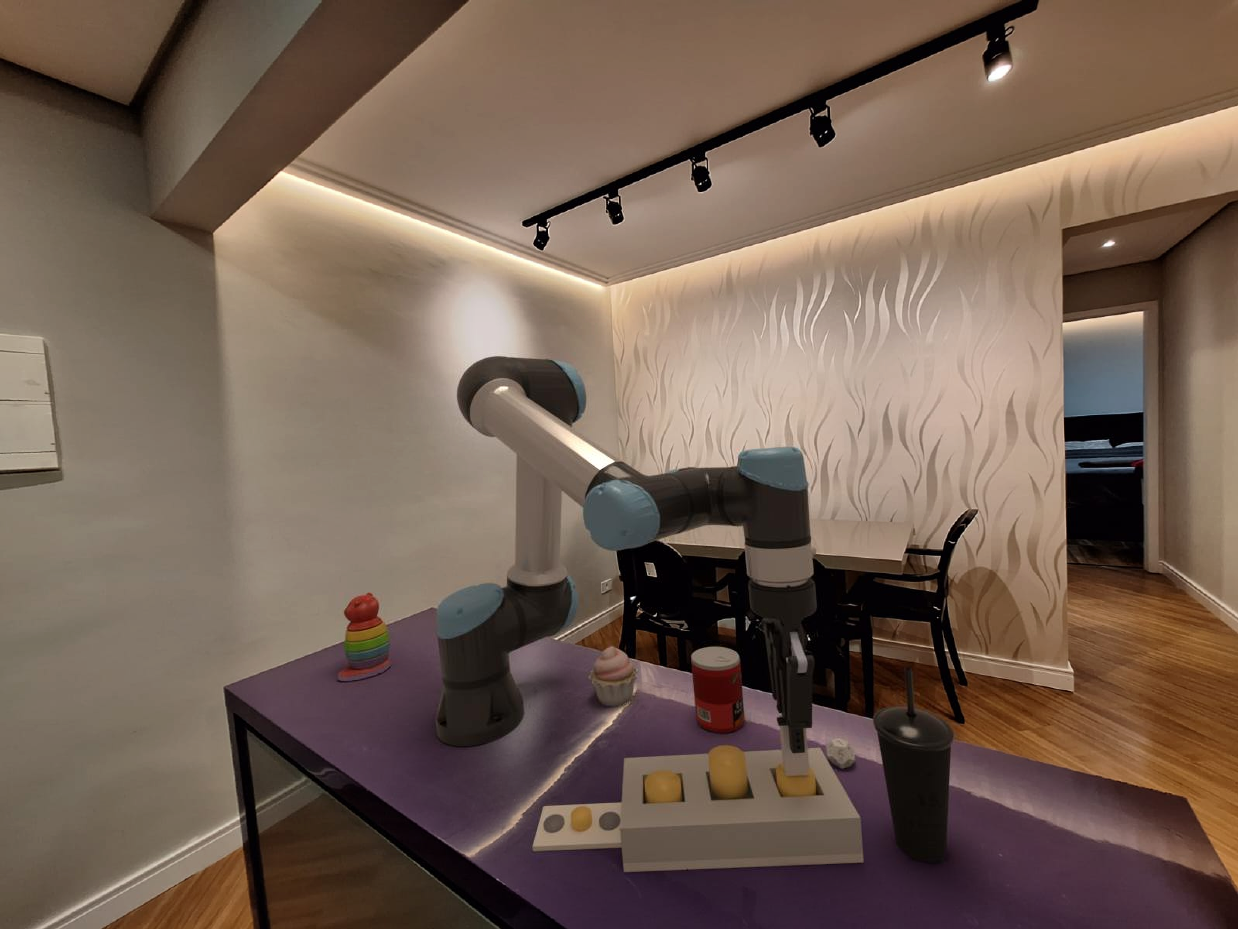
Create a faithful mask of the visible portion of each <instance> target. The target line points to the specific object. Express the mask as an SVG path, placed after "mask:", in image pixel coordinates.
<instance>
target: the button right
mask: <svg viewBox="0 0 1238 929" xmlns="http://www.w3.org/2000/svg"><path fill="white" fill-rule="evenodd" d="M809 772H810V775H801V776H786V774H785V771H784V769H783V763H781V764H779V765H778V766H777V768H776V776H777V789H778V792H779V794H780V797H798V796H816V784H815V774H814V772H813V770H812V769H811V768H810V767H809Z"/></svg>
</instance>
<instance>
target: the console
mask: <svg viewBox="0 0 1238 929" xmlns="http://www.w3.org/2000/svg"><path fill="white" fill-rule="evenodd" d="M742 752H743V753H744V754H745V759H746V771H747V784H748V793H747V795H746V797H745V798H743V799H736V800H720V799H718V798H717V797H716V796H715V795H714V794H713V793H712V791H711V783H710V771H709V759H708V754H709V753H695V754H678V755H676V754H675V755H674V754H673V755H661V756H660V755H658V756H657V755H656V756H640V757H639V756H637V757H624V758H623V777H622V788H621V789H622V791H621V802H622V804H621V820H620V834H621V845H622V847H621V855H622V864H623V865H622V866H623V867H622V868H623V873H633V872H658V871H660V872H661V871H682V870H683V871H685V870H687V869H688V870H705V869H706V870H709V869H733V868H734V869H735V868H754V867H755V868H757V867H762V868H763V867H783V866H784V867H787V866H805V865H808V866H809V865H827V864H828V865H830V864H831V865H832V864H854V863H855V864H858V863H861V864H862V863H864V862H865V861H864V849H863V837H862V836H863V835H862V819H861V816H860V814H859V813H858V811H857V810H856V807H855V806H854V804H853V802H852V800H851V798H850V796H848V793H847V792H846V790H845V788H844V787H843V785H842V783H841V781H840V780H839V778H838V776H837V775H836V773H835V771H834V770H833V768H832V766H831V764H830V761H828V758H827V756H826V755H825V754H824V752H823V751H822V749H821V747H809V748H808V760H809V767H810V768H811V769H812V770H813V772H814V774H815V784H816V796H798V797H780V794H779V792H778V789H777V776H776V768H777V766H778V765H779V764H781V763H783V761H782V749H770V750H753V751H742ZM658 770H668V771H672V772H674V773H676V774H677V775H678V776H679V778H680V781H681V792H682V802H673V803H652V804H646V793H645V779H646V777H647V776H648V775H649V774H651V773H652V772H655V771H658Z"/></svg>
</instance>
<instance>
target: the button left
mask: <svg viewBox="0 0 1238 929" xmlns="http://www.w3.org/2000/svg"><path fill="white" fill-rule="evenodd" d="M645 793H646V804H652V803H673V802H682V792H681V781H680V778H679V776H678V775H677V774H676V773H674V772H672V771H668V770H658V771H655V772H652V773H651V774H649V775H648V776H647V777H646V779H645Z"/></svg>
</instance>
